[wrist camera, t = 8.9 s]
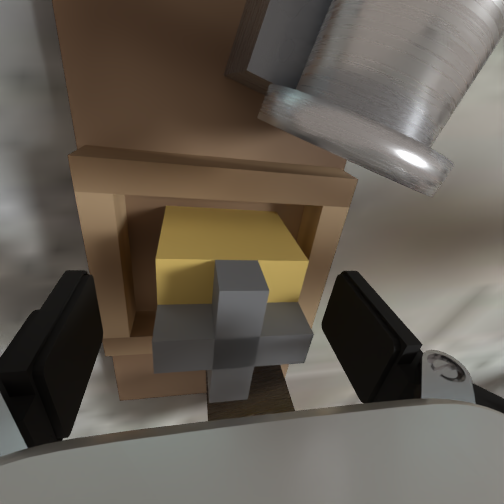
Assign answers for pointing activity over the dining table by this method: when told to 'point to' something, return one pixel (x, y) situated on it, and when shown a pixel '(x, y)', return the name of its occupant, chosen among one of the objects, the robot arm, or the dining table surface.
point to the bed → (177, 161)
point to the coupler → (228, 297)
